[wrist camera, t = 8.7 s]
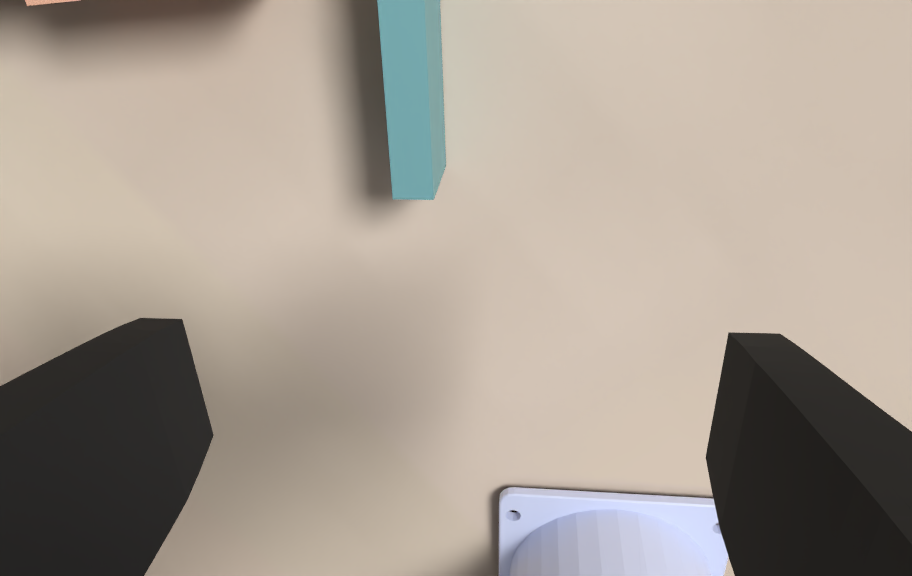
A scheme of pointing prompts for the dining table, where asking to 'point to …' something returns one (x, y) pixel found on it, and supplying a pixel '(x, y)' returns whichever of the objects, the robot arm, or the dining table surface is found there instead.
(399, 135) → the box
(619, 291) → the dining table surface
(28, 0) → the salmon pink block
